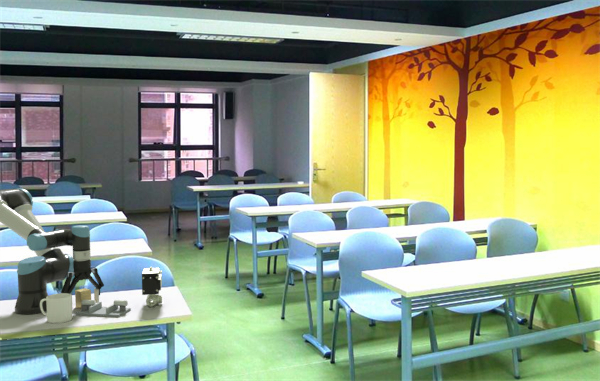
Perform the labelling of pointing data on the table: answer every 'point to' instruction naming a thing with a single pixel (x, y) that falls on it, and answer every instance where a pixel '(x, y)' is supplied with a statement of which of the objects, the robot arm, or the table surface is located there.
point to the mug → (58, 308)
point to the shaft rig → (103, 308)
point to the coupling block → (82, 296)
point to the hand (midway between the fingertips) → (83, 305)
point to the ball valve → (152, 285)
